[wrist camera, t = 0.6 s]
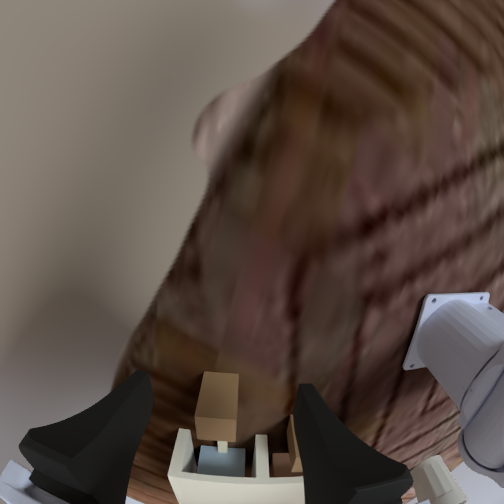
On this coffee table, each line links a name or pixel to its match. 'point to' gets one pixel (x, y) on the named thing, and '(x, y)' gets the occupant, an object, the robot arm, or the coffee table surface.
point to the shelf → (230, 479)
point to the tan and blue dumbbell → (219, 425)
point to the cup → (436, 483)
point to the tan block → (287, 457)
